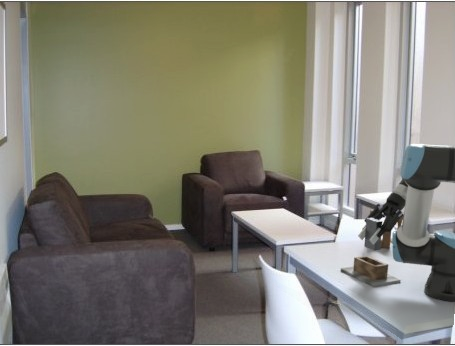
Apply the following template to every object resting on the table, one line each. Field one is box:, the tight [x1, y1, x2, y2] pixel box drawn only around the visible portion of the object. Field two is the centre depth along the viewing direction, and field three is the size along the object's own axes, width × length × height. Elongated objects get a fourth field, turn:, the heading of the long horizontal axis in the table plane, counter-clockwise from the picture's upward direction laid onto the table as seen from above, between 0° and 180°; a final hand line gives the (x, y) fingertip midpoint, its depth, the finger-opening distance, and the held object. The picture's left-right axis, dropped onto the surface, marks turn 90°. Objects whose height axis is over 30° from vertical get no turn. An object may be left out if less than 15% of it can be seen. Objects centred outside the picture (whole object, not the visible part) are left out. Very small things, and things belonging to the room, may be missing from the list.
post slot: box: [340, 255, 402, 288], centre depth 214 cm, size 20×14×6 cm
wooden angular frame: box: [369, 209, 392, 249], centre depth 257 cm, size 4×11×18 cm, turn 78°
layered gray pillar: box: [364, 217, 383, 252], centre depth 213 cm, size 6×3×12 cm, turn 27°
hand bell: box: [390, 216, 404, 244], centre depth 265 cm, size 8×8×16 cm
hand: (365, 240), depth 212 cm, fingers closed on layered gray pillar, 6 cm apart
